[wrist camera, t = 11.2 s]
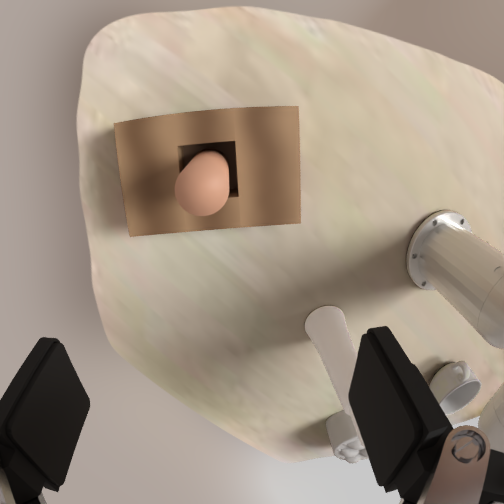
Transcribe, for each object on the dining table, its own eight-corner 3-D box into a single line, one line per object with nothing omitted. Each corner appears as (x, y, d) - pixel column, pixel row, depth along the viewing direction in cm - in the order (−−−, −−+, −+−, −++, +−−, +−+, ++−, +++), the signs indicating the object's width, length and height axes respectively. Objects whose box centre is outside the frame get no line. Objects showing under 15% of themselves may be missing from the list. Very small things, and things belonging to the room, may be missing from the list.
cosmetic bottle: (350, 323, 45) (411, 441, 25) (316, 344, 46) (360, 468, 26) (332, 297, 43) (397, 423, 23) (296, 320, 44) (338, 454, 24)
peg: (227, 146, 33) (227, 160, 22) (229, 182, 34) (231, 213, 23) (190, 149, 33) (171, 165, 22) (193, 185, 34) (177, 218, 23)
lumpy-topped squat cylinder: (361, 435, 59) (372, 465, 52) (314, 432, 56) (323, 465, 49) (389, 407, 56) (404, 438, 48) (342, 402, 53) (355, 437, 45)
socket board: (288, 108, 32) (298, 106, 28) (291, 209, 37) (300, 223, 33) (128, 122, 32) (113, 123, 27) (141, 221, 36) (129, 236, 32)
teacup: (453, 384, 56) (469, 408, 49) (416, 397, 56) (431, 423, 48) (474, 338, 51) (494, 362, 43) (435, 350, 50) (455, 377, 43)
